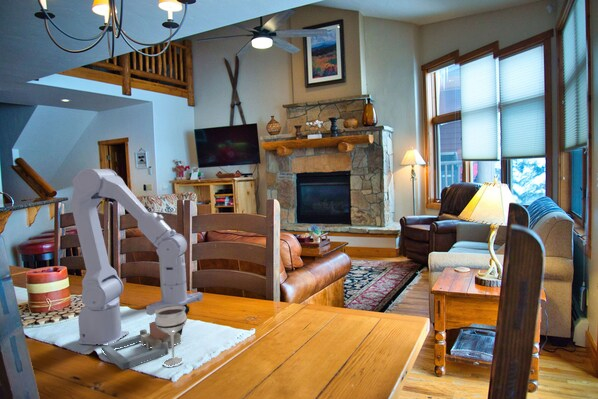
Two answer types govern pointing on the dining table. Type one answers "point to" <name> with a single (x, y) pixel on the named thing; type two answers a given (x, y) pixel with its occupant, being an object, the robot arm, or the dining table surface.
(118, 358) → the dock
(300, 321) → the dining table surface
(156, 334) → the salmon pink block
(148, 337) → the pallet
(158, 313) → the wineglass
